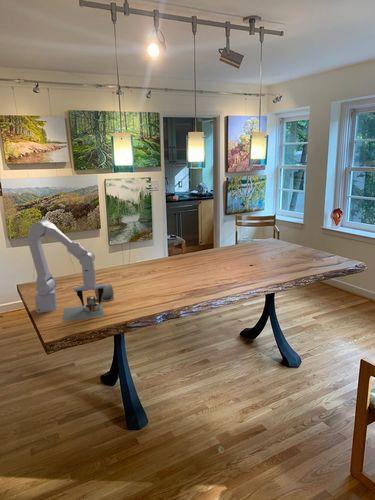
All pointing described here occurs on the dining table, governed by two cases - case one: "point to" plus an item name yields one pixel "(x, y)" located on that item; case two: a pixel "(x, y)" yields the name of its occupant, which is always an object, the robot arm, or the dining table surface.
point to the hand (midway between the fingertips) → (91, 304)
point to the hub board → (82, 313)
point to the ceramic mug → (106, 293)
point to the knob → (91, 302)
